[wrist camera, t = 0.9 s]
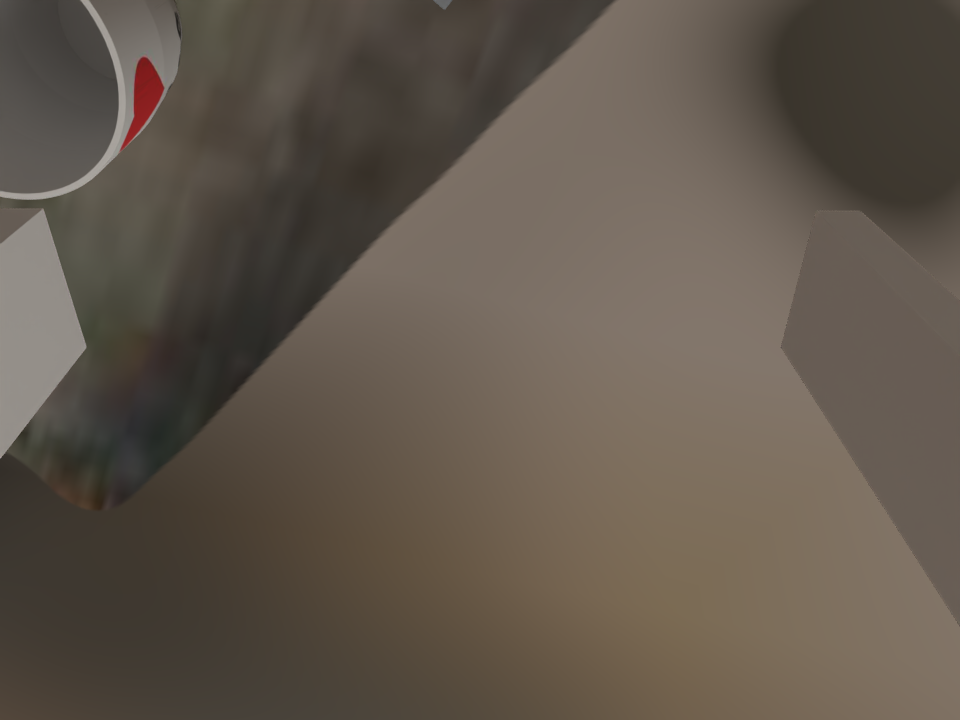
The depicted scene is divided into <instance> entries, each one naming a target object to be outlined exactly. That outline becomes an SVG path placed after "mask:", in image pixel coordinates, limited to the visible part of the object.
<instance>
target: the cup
mask: <svg viewBox="0 0 960 720" xmlns="http://www.w3.org/2000/svg"><path fill="white" fill-rule="evenodd" d="M181 41H182V27H181V20H180V16H179V12H178V9H177V7H176V4H175V2H174V0H0V197H6V198H13V199H44V198H50V197H55V196H59V195H62V194H65V193H68V192H71V191H73V190H75V189H77V188H79V187H81V186H82V185H84V184H86V183H87V182H89V181H90V180H91V179H92V178H94V177H95V176H96V175H97V174H98V173H99V172H100V171H101V170H102V169H103V168H104V167H105V166H106V165H107V164H108V163H110V162H111V161H112V160H113V159H114V158H115V157H116V156H117V155H118V154H119V153H120V152H121V151H122V150H123V149H124V148H125V147H126V146H127V145H128V144H129V143H130V142H131V141H132V140H133V139H134V138H135V137H136V136H137V135H139V134H140V133H141V132H142V130H143V129H144V128H145V127H146V126H147V124H148V123H149V122H150V120H151V119H152V117H153V115H154V114H155V112H156V110H157V109H158V107H159V105H160V104H161V102H162V100H163V99H164V97H165V95H166V94H167V92H168V90H169V89H170V87H171V85H172V83H173V81H174V79H175V77H176V74H177V71H178V67H179V61H180V52H181Z"/></svg>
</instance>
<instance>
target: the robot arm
mask: <svg viewBox="0 0 960 720" xmlns="http://www.w3.org/2000/svg"><path fill="white" fill-rule="evenodd" d="M781 348H782V350H783V351H784V353H785V355H786V356H787V357H788V359H789V361H790V362H791V364H792V365H793V367H794V369H795V370H796V372H797V373H798V375H799V376H800V378H801V379H802V381H803V383H804V384H805V386H806V387H807V389H808V390H809V392H810V393H811V395H812V397H813V398H814V400H815V401H816V403H817V404H818V406H819V407H820V409H821V411H822V412H823V414H824V415H825V417H826V418H827V420H828V421H829V423H830V424H831V426H832V428H833V429H834V431H835V432H836V434H837V436H838V437H839V439H840V440H841V442H842V443H843V445H844V446H845V448H846V450H847V451H848V453H849V454H850V456H851V457H852V459H853V461H854V462H855V464H856V465H857V467H858V468H859V470H860V471H861V473H862V474H863V476H864V477H865V479H866V481H867V482H868V484H869V486H870V487H871V489H872V490H873V491H874V493H875V495H876V496H877V498H878V500H879V501H880V503H881V504H882V506H883V507H884V509H885V510H886V512H887V514H888V515H889V517H890V518H891V520H892V521H893V523H894V524H895V526H896V528H897V529H898V531H899V532H900V534H901V535H902V537H903V539H904V540H905V541H906V543H907V545H908V546H909V548H910V549H911V551H912V552H913V554H914V556H915V557H916V559H917V560H918V562H919V563H920V565H921V566H922V568H923V570H924V571H925V573H926V574H927V576H928V577H929V579H930V580H931V582H932V584H933V585H934V587H935V588H936V590H937V591H938V593H939V595H940V596H941V597H942V599H943V601H944V602H945V604H946V606H947V607H948V609H949V610H950V612H951V613H952V615H953V616H954V618H955V619H956V621H957V623H958V624H959V626H960V300H959V299H958V298H957V297H956V296H954V295H953V294H952V293H951V292H950V291H949V290H948V289H947V288H945V287H944V286H943V285H942V284H941V283H940V282H939V281H938V280H937V279H935V278H934V277H933V276H932V275H931V274H930V273H929V272H928V271H926V270H925V269H924V268H923V267H922V266H921V265H920V264H919V263H918V262H917V261H915V260H914V259H913V258H912V257H911V256H910V255H909V254H908V253H907V252H905V251H904V250H903V249H902V248H901V247H900V246H899V245H898V244H897V243H895V242H894V241H893V240H892V239H891V238H890V237H889V236H888V235H887V234H885V233H884V232H883V231H882V230H881V229H880V228H879V227H878V226H877V225H875V224H874V223H873V222H872V221H871V220H870V219H869V218H867V216H865V215H864V214H863V213H862V212H861V211H816V212H815V216H814V220H813V224H812V228H811V232H810V236H809V240H808V244H807V247H806V251H805V255H804V259H803V263H802V267H801V271H800V275H799V278H798V282H797V286H796V290H795V294H794V298H793V302H792V306H791V309H790V313H789V317H788V321H787V325H786V329H785V333H784V337H783V341H782V345H781ZM85 349H86V344H85V341H84V338H83V334H82V331H81V328H80V325H79V322H78V318H77V315H76V312H75V309H74V306H73V302H72V299H71V296H70V293H69V290H68V286H67V283H66V280H65V277H64V274H63V270H62V267H61V264H60V261H59V258H58V254H57V251H56V248H55V245H54V242H53V238H52V235H51V232H50V229H49V226H48V222H47V219H46V216H45V213H44V210H43V208H0V458H1V457H2V456H3V454H4V453H5V452H6V451H7V449H8V448H9V447H10V446H11V444H12V443H13V442H14V440H15V439H16V438H17V436H18V435H19V434H20V433H21V431H22V430H23V429H24V427H25V426H26V425H27V424H28V422H29V421H30V420H31V418H32V417H33V416H34V415H35V413H36V412H37V411H38V409H39V408H40V407H41V405H42V404H43V403H44V402H45V400H46V399H47V398H48V396H49V395H50V394H51V393H52V391H53V390H54V389H55V387H56V386H57V385H58V384H59V382H60V381H61V380H62V378H63V377H64V376H65V374H66V373H67V372H68V371H69V369H70V368H71V367H72V365H73V364H74V363H75V362H76V360H77V359H78V358H79V356H80V355H81V354H82V353H83V351H84V350H85Z"/></svg>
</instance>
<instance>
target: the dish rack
mask: <svg viewBox="0 0 960 720" xmlns="http://www.w3.org/2000/svg"><path fill="white" fill-rule="evenodd" d="M434 1H435V2H436V3H437V4H438V5H439V6H440V7H441V8H443V9H444V10H445V9H446V8H447V6H448V5H449V4H450V2H451V1H452V0H434Z"/></svg>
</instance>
